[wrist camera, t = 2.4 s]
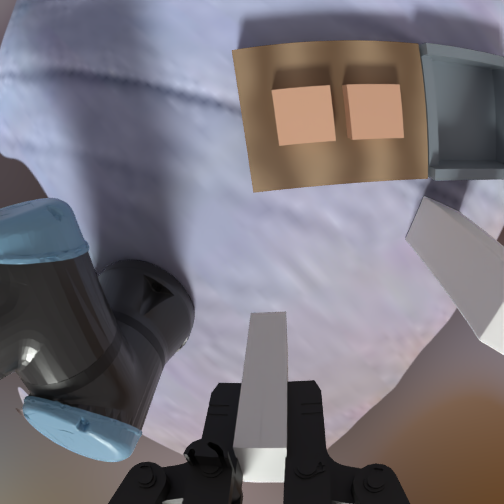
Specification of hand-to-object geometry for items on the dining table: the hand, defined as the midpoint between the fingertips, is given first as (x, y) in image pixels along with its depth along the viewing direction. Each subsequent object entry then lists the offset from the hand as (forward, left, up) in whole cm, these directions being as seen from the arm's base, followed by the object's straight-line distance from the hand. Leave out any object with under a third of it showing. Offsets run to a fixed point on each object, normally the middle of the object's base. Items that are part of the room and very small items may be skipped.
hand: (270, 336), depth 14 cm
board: (+7, +8, -23) cm, 26 cm away
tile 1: (+10, +8, -19) cm, 23 cm away
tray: (+23, +8, -23) cm, 34 cm away
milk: (+19, -6, -24) cm, 31 cm away
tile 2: (+4, +8, -19) cm, 21 cm away
